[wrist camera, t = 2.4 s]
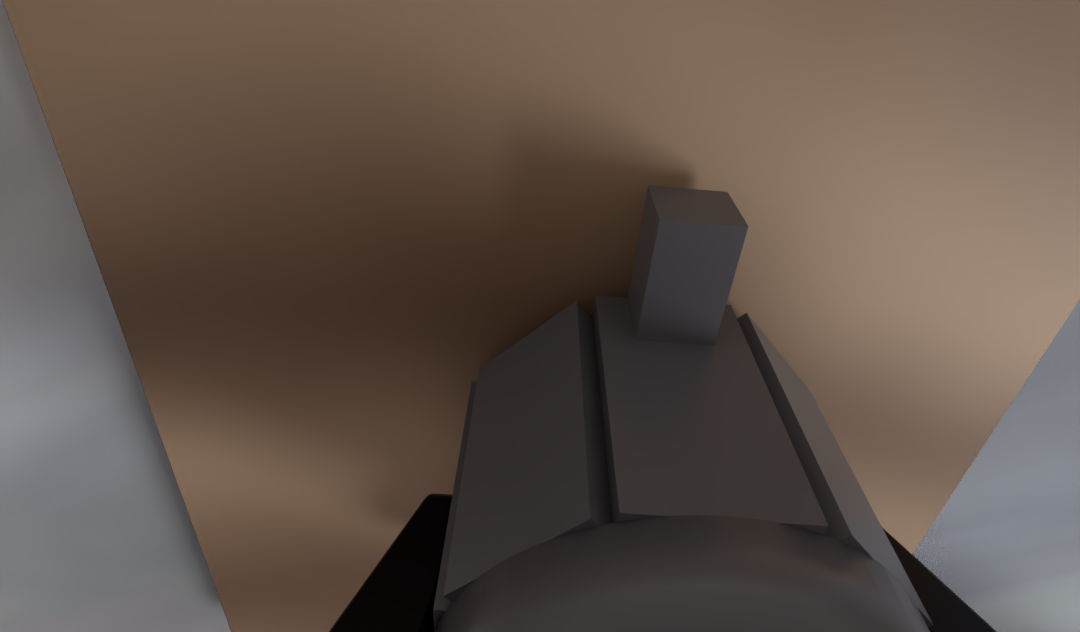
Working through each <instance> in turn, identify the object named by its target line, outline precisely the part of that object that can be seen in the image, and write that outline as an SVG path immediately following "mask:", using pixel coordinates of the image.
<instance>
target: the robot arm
mask: <svg viewBox="0 0 1080 632" xmlns="http://www.w3.org/2000/svg"><path fill="white" fill-rule="evenodd" d="M451 501H452V494H436V493H432V494H429V495H427V496H426V497H425V499H424V500H423V501H422V503H421V504H420V505H419V507H418V508H417V510H416V511H415V512H414V514H413V515H412V517H411V518H410V519H409V521H408V522H407V523H406V525H405V526H404V528H403V529H402V530H401V532H400V533H399V535H398V536H397V537H396V539H395V540H394V542H393V543H392V544H391V546H390V547H389V548H388V550H387V551H386V553H385V554H384V555H383V557H382V558H381V560H380V561H379V562H378V564H377V565H376V567H375V568H374V569H373V571H372V572H371V573H370V575H369V576H368V578H367V579H366V580H365V582H364V583H363V585H362V586H361V587H360V589H359V590H358V592H357V593H356V594H355V596H354V597H353V599H352V600H351V601H350V603H349V604H348V605H347V607H346V608H345V610H344V611H343V612H342V614H341V615H340V617H339V618H338V619H337V621H336V622H335V624H334V625H333V626H332V628H331V629H330V630H329V632H434V617H433V608H434V602H435V596H436V590H437V584H438V579H439V573H440V567H441V561H442V555H443V549H444V543H445V537H446V531H447V525H448V519H449V513H450V507H451ZM882 528H883V527H882ZM883 530H884V532H885V534H886V536H887V538H888V540H889V542H890V543H891V545H892V547H893V549H894V551H895V553H896V555H897V557H898V559H899V560H900V562H901V564H902V566H903V568H904V570H905V572H906V574H907V576H908V578H909V579H910V581H911V583H912V585H913V587H914V589H915V591H916V593H917V595H918V597H919V598H920V600H921V602H922V604H923V606H924V608H925V610H926V612H927V614H928V615H929V617H930V619H931V621H932V623H933V626H930V627H928V629H929V631H930V632H996V631H995V630H994V629H993V628H992V627H991V626H990V625H989V624H988V623H987V622H985V621H984V620H983V619H982V618H981V617H980V616H979V615H978V614H977V613H976V612H975V611H973V610H972V609H971V608H970V607H969V606H968V605H967V604H966V603H965V602H964V601H963V600H961V599H960V598H959V597H958V596H957V595H956V594H955V593H954V592H953V591H952V590H950V589H949V588H948V587H947V586H946V585H945V584H944V583H943V582H942V581H941V580H940V579H938V578H937V577H936V576H935V575H934V574H933V573H932V572H931V571H930V570H929V569H928V568H926V567H925V566H924V565H923V564H922V563H921V562H920V561H919V560H918V559H917V558H916V557H914V556H913V555H912V554H911V553H910V552H909V551H908V550H907V549H906V548H905V547H903V546H902V545H901V544H900V543H899V542H898V541H897V540H896V539H895V538H894V537H893V536H891V535H890V534H889V533H888V532H887V531H886V530H885V529H884V528H883Z"/></svg>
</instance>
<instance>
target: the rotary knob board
mask: <svg viewBox="0 0 1080 632" xmlns="http://www.w3.org/2000/svg"><path fill="white" fill-rule="evenodd" d="M2 1H3V3H4V6H5V9H6V12H7V14H8V17H9V20H10V23H11V25H12V28H13V31H14V34H15V37H16V39H17V42H18V45H19V48H20V50H21V53H22V56H23V59H24V61H25V64H26V67H27V70H28V72H29V75H30V78H31V81H32V83H33V86H34V89H35V92H36V94H37V97H38V100H39V103H40V105H41V108H42V111H43V114H44V117H45V119H46V122H47V125H48V128H49V130H50V133H51V136H52V139H53V141H54V144H55V147H56V150H57V152H58V155H59V158H60V161H61V163H62V166H63V169H64V172H65V174H66V177H67V180H68V183H69V185H70V188H71V191H72V194H73V196H74V199H75V202H76V205H77V208H78V210H79V213H80V216H81V219H82V221H83V224H84V227H85V230H86V232H87V235H88V238H89V241H90V243H91V246H92V249H93V252H94V254H95V257H96V260H97V263H98V265H99V268H100V271H101V274H102V276H103V279H104V282H105V285H106V287H107V290H108V293H109V296H110V299H111V301H112V304H113V307H114V310H115V312H116V315H117V318H118V321H119V323H120V326H121V329H122V332H123V334H124V337H125V340H126V343H127V345H128V348H129V351H130V354H131V356H132V359H133V362H134V365H135V367H136V370H137V373H138V376H139V379H140V381H141V384H142V387H143V390H144V392H145V395H146V398H147V401H148V403H149V406H150V409H151V412H152V414H153V417H154V420H155V423H156V425H157V428H158V431H159V434H160V436H161V439H162V442H163V445H164V447H165V450H166V453H167V456H168V458H169V461H170V464H171V467H172V470H173V472H174V475H175V478H176V481H177V483H178V486H179V489H180V492H181V494H182V497H183V500H184V503H185V505H186V508H187V511H188V514H189V516H190V519H191V522H192V525H193V527H194V530H195V533H196V536H197V538H198V541H199V544H200V547H201V550H202V552H203V555H204V558H205V561H206V563H207V566H208V569H209V572H210V574H211V577H212V580H213V583H214V585H215V588H216V591H217V594H218V596H219V599H220V602H221V605H222V607H223V610H224V613H225V616H226V618H227V621H228V624H229V627H230V629H231V632H329V630H330V629H331V628H332V626H333V625H334V624H335V622H336V621H337V619H338V618H339V617H340V615H341V614H342V612H343V611H344V610H345V608H346V607H347V605H348V604H349V603H350V601H351V600H352V599H353V597H354V596H355V594H356V593H357V592H358V590H359V589H360V587H361V586H362V585H363V583H364V582H365V580H366V579H367V578H368V576H369V575H370V573H371V572H372V571H373V569H374V568H375V567H376V565H377V564H378V562H379V561H380V560H381V558H382V557H383V555H384V554H385V553H386V551H387V550H388V548H389V547H390V546H391V544H392V543H393V542H394V540H395V539H396V537H397V536H398V535H399V533H400V532H401V530H402V529H403V528H404V526H405V525H406V523H407V522H408V521H409V519H410V518H411V517H412V515H413V514H414V512H415V511H416V510H417V508H418V507H419V505H420V504H421V503H422V501H423V500H424V499H425V497H426V496H427V495H429V494H432V493H436V494H452V495H453V489H454V483H455V477H456V471H457V465H458V459H459V453H460V447H461V442H462V436H463V430H464V424H465V418H466V412H467V406H468V400H469V394H470V388H471V382H472V381H474V382H477V377H478V370H479V368H481V367H482V366H484V365H485V364H487V363H488V362H489V361H491V360H492V359H494V358H495V357H497V356H498V355H499V354H501V353H502V352H504V351H505V350H507V349H508V348H509V347H511V346H512V345H514V344H515V343H517V342H518V341H519V340H521V339H522V338H524V337H525V336H527V335H528V334H529V333H531V332H532V331H534V330H535V329H537V328H538V327H539V326H541V325H542V324H544V323H545V322H547V321H548V320H549V319H551V318H552V317H554V316H555V315H557V314H558V313H559V312H561V311H562V310H564V309H565V308H567V307H568V306H569V305H571V304H572V303H574V302H575V301H578V302H579V303H580V304H581V305H582V306H583V307H584V308H585V309H586V310H587V311H588V312H589V313H590V314H591V316H592V317H593V310H594V303H595V297H596V295H598V296H611V297H625V298H628V294H629V289H630V283H631V278H632V272H633V266H634V261H635V255H636V250H637V244H638V239H639V233H640V228H641V222H642V217H643V211H644V206H645V200H646V195H647V189H648V186H660V187H672V188H685V189H698V190H711V191H724V192H728V193H729V195H730V197H731V198H732V200H733V202H734V203H735V205H736V207H737V208H738V210H739V212H740V213H741V215H742V217H743V218H744V220H745V222H746V223H747V225H748V226H749V227H748V230H747V234H746V237H745V241H744V244H743V248H742V251H741V255H740V258H739V262H738V265H737V269H736V272H735V276H734V279H733V283H732V286H731V290H730V293H729V297H728V300H727V304H726V305H731V307H732V309H733V311H734V313H735V316H736V318H739V317H740V316H742V315H744V314H745V313H747V314H748V315H749V316H750V317H751V319H752V320H753V321H754V322H755V324H756V325H757V326H758V327H759V328H760V330H761V331H762V332H763V333H764V335H765V336H766V337H767V338H768V340H769V341H770V342H771V343H772V345H773V346H774V347H775V348H776V350H777V351H778V352H779V353H780V355H781V356H782V357H783V358H784V359H785V361H786V362H787V363H788V364H789V366H790V367H791V368H792V369H793V371H794V372H795V373H796V374H797V376H798V377H799V378H800V379H801V381H802V382H803V383H804V384H805V386H806V387H807V388H808V389H809V390H810V392H811V394H812V395H813V397H814V399H815V401H816V403H817V405H818V407H819V409H820V411H821V413H822V414H823V416H824V418H825V420H826V422H827V424H828V426H829V428H830V430H831V431H832V433H833V435H834V437H835V439H836V441H837V443H838V445H839V447H840V449H841V450H842V452H843V454H844V456H845V458H846V460H847V462H848V464H849V466H850V468H851V469H852V471H853V473H854V475H855V477H856V479H857V481H858V483H859V485H860V486H861V488H862V490H863V492H864V494H865V496H866V498H867V500H868V502H869V504H870V505H871V507H872V509H873V511H874V513H875V515H876V517H877V519H878V521H879V523H880V524H881V526H882V527H883V528H884V529H885V530H886V531H887V532H888V533H889V534H890V535H891V536H893V537H894V538H895V539H896V540H897V541H898V542H899V543H900V544H901V545H902V546H903V547H905V548H906V549H907V550H908V551H909V552H910V553H911V554H913V552H914V551H915V549H916V548H917V546H918V545H919V543H920V541H921V540H922V538H923V537H924V535H925V534H926V532H927V531H928V529H929V528H930V526H931V525H932V523H933V522H934V520H935V519H936V517H937V516H938V514H939V513H940V511H941V510H942V508H943V506H944V505H945V503H946V502H947V500H948V499H949V497H950V496H951V494H952V493H953V491H954V490H955V488H956V487H957V485H958V484H959V482H960V481H961V479H962V478H963V476H964V474H965V473H966V471H967V470H968V468H969V467H970V465H971V464H972V462H973V461H974V459H975V458H976V456H977V455H978V453H979V452H980V450H981V449H982V447H983V446H984V444H985V443H986V441H987V439H988V438H989V436H990V435H991V433H992V432H993V430H994V429H995V427H996V426H997V424H998V423H999V421H1000V420H1001V418H1002V417H1003V415H1004V414H1005V412H1006V411H1007V409H1008V408H1009V406H1010V404H1011V403H1012V401H1013V400H1014V398H1015V397H1016V395H1017V394H1018V392H1019V391H1020V389H1021V388H1022V386H1023V385H1024V383H1025V382H1026V380H1027V379H1028V377H1029V376H1030V374H1031V373H1032V371H1033V369H1034V368H1035V366H1036V365H1037V363H1038V362H1039V360H1040V359H1041V357H1042V356H1043V354H1044V353H1045V351H1046V350H1047V348H1048V347H1049V345H1050V344H1051V342H1052V341H1053V339H1054V338H1055V336H1056V334H1057V333H1058V331H1059V330H1060V328H1061V327H1062V325H1063V324H1064V322H1065V321H1066V319H1067V318H1068V316H1069V315H1070V313H1071V312H1072V310H1073V309H1074V307H1075V306H1076V304H1077V303H1078V301H1079V299H1080V0H2Z"/></svg>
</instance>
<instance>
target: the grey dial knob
mask: <svg viewBox="0 0 1080 632" xmlns="http://www.w3.org/2000/svg"><path fill="white" fill-rule="evenodd" d="M748 227H749V226H748V225H747V223H746V222H745V220H744V218H743V217H742V215H741V213H740V212H739V210H738V208H737V207H736V205H735V203H734V202H733V200H732V198H731V197H730V195H729V193H728V192H724V191H711V190H698V189H685V188H672V187H660V186H648V189H647V195H646V200H645V206H644V211H643V217H642V222H641V228H640V233H639V239H638V244H637V250H636V255H635V261H634V266H633V272H632V278H631V283H630V289H629V294H628V298H625V297H611V296H598V295H596V297H595V303H594V310H593V317H592V316H591V314H590V313H589V312H588V311H587V310H586V309H585V308H584V307H583V306H582V305H581V304H580V303H579V302H578V301H575V302H574V303H572V304H571V305H569V306H568V307H567V308H565V309H564V310H562V311H561V312H559V313H558V314H557V315H555V316H554V317H552V318H551V319H549V320H548V321H547V322H545V323H544V324H542V325H541V326H539V327H538V328H537V329H535V330H534V331H532V332H531V333H529V334H528V335H527V336H525V337H524V338H522V339H521V340H519V341H518V342H517V343H515V344H514V345H512V346H511V347H509V348H508V349H507V350H505V351H504V352H502V353H501V354H499V355H498V356H497V357H495V358H494V359H492V360H491V361H489V362H488V363H487V364H485V365H484V366H482V367H481V368H479V370H478V377H477V382H474V381H472V382H471V388H470V394H469V400H468V406H467V412H466V418H465V424H464V430H463V436H462V442H461V447H460V453H459V459H458V465H457V471H456V477H455V483H454V489H453V495H452V501H451V507H450V513H449V519H448V525H447V531H446V537H445V543H444V549H443V555H442V561H441V567H440V573H439V579H438V584H437V590H436V596H435V602H434V608H433V617H434V632H930V631H929V629H928V627H930V626H933V623H932V621H931V619H930V617H929V615H928V614H927V612H926V610H925V608H924V606H923V604H922V602H921V600H920V598H919V597H918V595H917V593H916V591H915V589H914V587H913V585H912V583H911V581H910V579H909V578H908V576H907V574H906V572H905V570H904V568H903V566H902V564H901V562H900V560H899V559H898V557H897V555H896V553H895V551H894V549H893V547H892V545H891V543H890V542H889V540H888V538H887V536H886V534H885V532H884V530H883V528H882V526H881V524H880V523H879V521H878V519H877V517H876V515H875V513H874V511H873V509H872V507H871V505H870V504H869V502H868V500H867V498H866V496H865V494H864V492H863V490H862V488H861V486H860V485H859V483H858V481H857V479H856V477H855V475H854V473H853V471H852V469H851V468H850V466H849V464H848V462H847V460H846V458H845V456H844V454H843V452H842V450H841V449H840V447H839V445H838V443H837V441H836V439H835V437H834V435H833V433H832V431H831V430H830V428H829V426H828V424H827V422H826V420H825V418H824V416H823V414H822V413H821V411H820V409H819V407H818V405H817V403H816V401H815V399H814V397H813V395H812V394H811V392H810V390H809V389H808V388H807V387H806V386H805V384H804V383H803V382H802V381H801V379H800V378H799V377H798V376H797V374H796V373H795V372H794V371H793V369H792V368H791V367H790V366H789V364H788V363H787V362H786V361H785V359H784V358H783V357H782V356H781V355H780V353H779V352H778V351H777V350H776V348H775V347H774V346H773V345H772V343H771V342H770V341H769V340H768V338H767V337H766V336H765V335H764V333H763V332H762V331H761V330H760V328H759V327H758V326H757V325H756V324H755V322H754V321H753V320H752V319H751V317H750V316H749V315H748V314H747V313H745V314H744V315H742V316H740V317H739V318H736V316H735V313H734V311H733V309H732V307H731V305H726V304H727V300H728V297H729V293H730V290H731V286H732V283H733V279H734V276H735V272H736V269H737V265H738V262H739V258H740V255H741V251H742V248H743V244H744V241H745V237H746V234H747V230H748Z"/></svg>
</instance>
